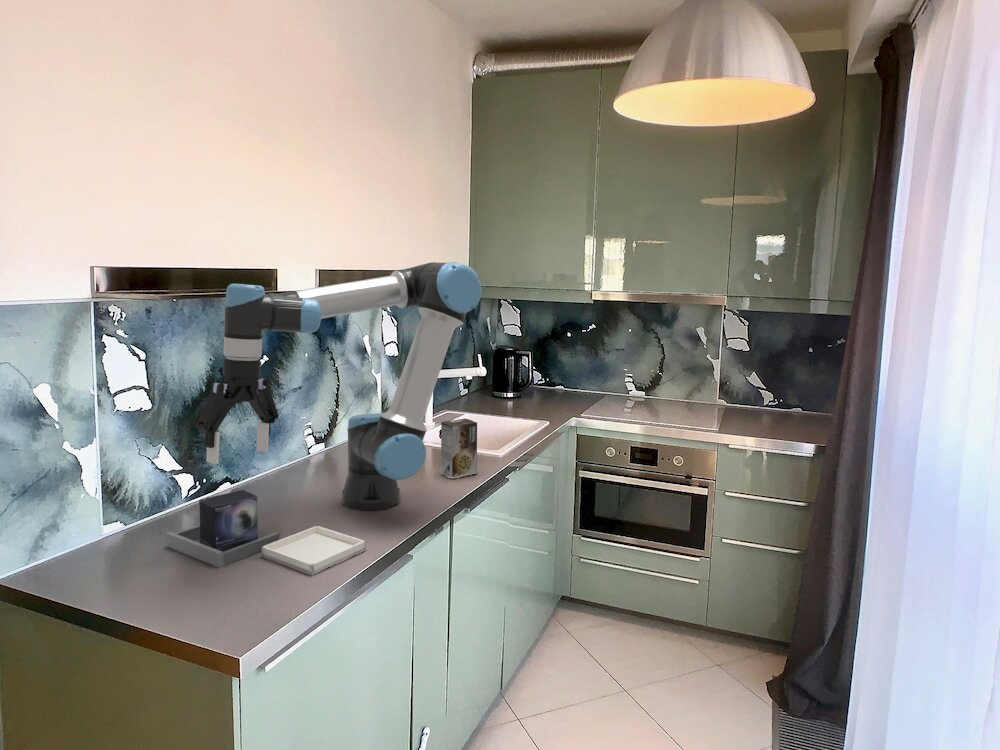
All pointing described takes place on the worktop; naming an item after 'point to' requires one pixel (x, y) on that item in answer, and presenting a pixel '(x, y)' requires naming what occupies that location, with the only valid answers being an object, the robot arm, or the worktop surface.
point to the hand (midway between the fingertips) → (238, 457)
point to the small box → (228, 520)
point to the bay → (186, 545)
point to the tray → (313, 549)
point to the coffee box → (458, 447)
